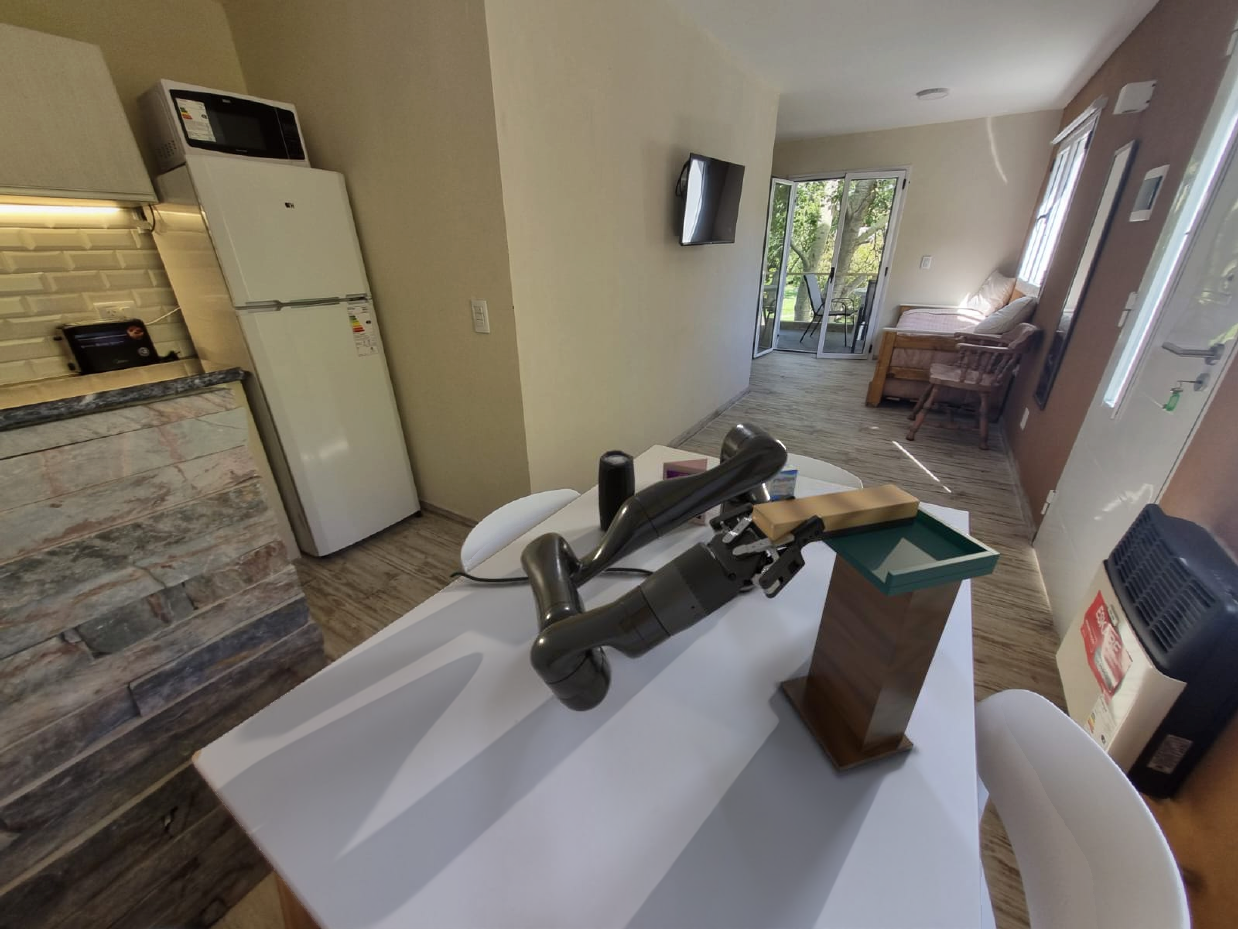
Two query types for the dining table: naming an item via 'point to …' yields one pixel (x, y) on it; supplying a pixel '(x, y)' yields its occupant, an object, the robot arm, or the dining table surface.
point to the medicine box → (783, 482)
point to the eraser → (838, 512)
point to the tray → (915, 555)
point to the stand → (868, 666)
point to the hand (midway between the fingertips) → (806, 510)
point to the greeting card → (683, 470)
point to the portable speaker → (614, 484)
